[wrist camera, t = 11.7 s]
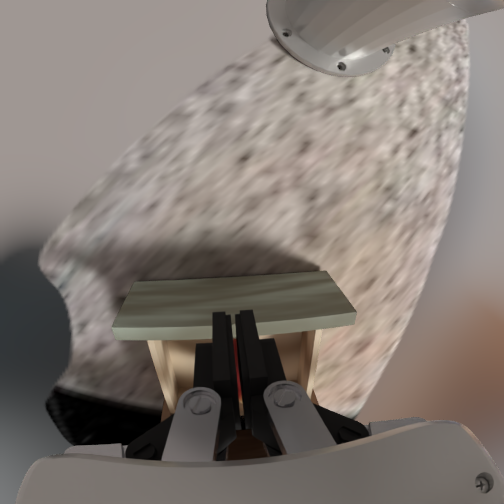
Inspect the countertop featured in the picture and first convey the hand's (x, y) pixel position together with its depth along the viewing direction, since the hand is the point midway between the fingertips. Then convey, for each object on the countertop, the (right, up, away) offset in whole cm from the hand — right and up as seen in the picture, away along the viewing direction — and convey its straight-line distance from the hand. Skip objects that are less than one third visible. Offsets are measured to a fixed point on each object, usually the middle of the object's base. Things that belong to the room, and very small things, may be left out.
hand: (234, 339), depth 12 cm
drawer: (-1, -5, +18) cm, 19 cm away
